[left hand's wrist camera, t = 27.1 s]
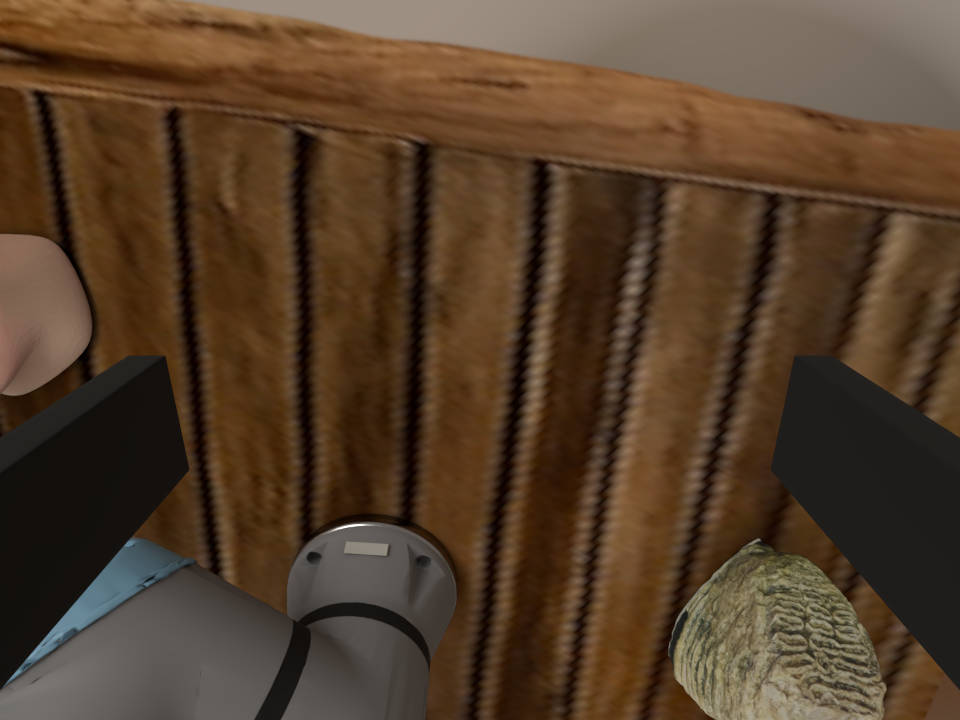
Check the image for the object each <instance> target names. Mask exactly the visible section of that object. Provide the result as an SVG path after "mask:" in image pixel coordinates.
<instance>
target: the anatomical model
mask: <svg viewBox="0 0 960 720" xmlns="http://www.w3.org/2000/svg"><path fill="white" fill-rule="evenodd" d="M91 335H92V317H91V312H90V307H89V304H88V300H87V297H86V294H85V292H84V289H83V287H82V284H81V282H80V280H79V278H78V275H77V273H76V271H75V269H74V267H73V266H72V264H71V262H70V260H69V259H68V257H67V255H66V254H65V253H64V252H63V250H62V249H61V248H60V247H59V246H58V245H57V244H55V243H54V242H53V241H51V240H49V239H46V238H43V237H39V236H32V235H17V234H0V394H1V393H2V394H5V395H12V396H16V395H23V394H26V393H28V392H31V391H33V390H35V389H37V388H39V387H40V386H42V385H44V384H45V383H47V382H48V381H50V380H51V379H53V378H54V377H56V376H57V375H58V374H60V373H61V372H62V371H63V370H65V369H66V368H67V367H68V366H70V365H71V364H72V363H73V362H74V361H75V360H76V359H77V358H78V357H79V356H80V355H81V354H82V353H83V351H84V350H85V349H86V347H87V345H88V344H89V341H90V339H91Z"/></svg>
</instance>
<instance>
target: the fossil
mask: <svg viewBox="0 0 960 720" xmlns="http://www.w3.org/2000/svg"><path fill="white" fill-rule="evenodd" d="M669 657H670V659H671V661H672V664H673V672H674V677H675V679H676V680H677V681H678V682H679V683H680V684H681V685H682V686H684V688H685V691H686V692H687V693H688V694H689V695H690V696H691V697H692V698H693V699H694V700H695V701H696V702H697V704H698V705H699V706H700V708H701V709H703V710H704V711H705V713H706V714H707V715H709V716H711V717H712V718H714V719H716V720H882V718H883V715H884V710H885V709H884V705H883V697H884V693H885V692H886V690H887V689H886V684H885V683H884V682H883V681H882V679H881V674H880V671H879V663H878V660H877V657H876V654H875V650H874V646H873V643H872V641H871V639H870V637H869V635H868V633H867V631H866V629H865V628H864V627H863V626H862V625H861V623H860V622H859V621H858V618H857V615H856V613H855V611H854V609H853V607H852V605H851V603H849V602H848V601H847V599H846V597H844V596H843V594H842V593H841V592H840V590H839V589H838V588H837V587H836V586H835V585H834V584H833V583H832V582H831V580H830V579H829V578H828V577H827V576H826V575H825V573H824V572H822V571H821V570H820V569H819V568H818V567H817V565H815V564H814V563H812V562H811V561H810V560H809V559H807V558H806V557H803V556H801V555H798V554H787V553H778V552H775V551H774V550H773V548H772V547H771V546H768V545H766V544H763V542H762V541H761V540H760V539H759V538H758V539H756V540H754V541H753V542H751V543H749V544H747V545H746V546H744V547H743V548H742V549H741V550H740V551H739V552H738V553H737V554H736V555H735V556H733V557H732V558H731V559H730V560H728V561H727V562H726V563H724V564H723V566H722V567H721V568H720V569H719V570H717V571H716V572H715V573H714V574H713V576H712V577H711V579H710V580H709V581H707V582H706V583H705V584H704V585H702V586H701V587H700V589H699V590H698V591H697V592H696V594H695V595H694V596H693V597H692V598H691V600H690V601H689V602H688V603H687V605H686V606H685V607H684V609H683V610H682V612H681V613H680V615H679V616H678V618H677V620H676V624H675V627H674V630H673V632H672V639H671V641H670V643H669Z"/></svg>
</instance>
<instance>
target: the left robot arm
mask: <svg viewBox="0 0 960 720" xmlns="http://www.w3.org/2000/svg"><path fill="white" fill-rule="evenodd" d="M188 471H189V466H188V461H187V456H186V452H185V447H184V442H183V438H182V433H181V428H180V423H179V419H178V414H177V409H176V404H175V400H174V395H173V390H172V385H171V381H170V376H169V371H168V367H167V362H166V357H165V356H127V357H126V358H124V359H123V360H121V361H120V362H118V363H116V364H115V365H113V366H112V367H110V368H109V369H107V370H105V371H104V372H102V373H101V374H99V375H98V376H96V377H95V378H93V379H91V380H90V381H88V382H87V383H85V384H84V385H82V386H80V387H79V388H77V389H76V390H74V391H73V392H71V393H69V394H68V395H66V396H65V397H63V398H62V399H60V400H59V401H57V402H55V403H54V404H52V405H51V406H49V407H48V408H46V409H44V410H43V411H41V412H40V413H38V414H37V415H35V416H33V417H32V418H30V419H29V420H27V421H26V422H24V423H23V424H21V425H19V426H18V427H16V428H15V429H13V430H12V431H10V432H8V433H7V434H5V435H4V436H2V437H1V438H0V720H425V718H426V706H427V695H428V683H429V670H430V662H431V659H432V657H433V655H434V653H435V651H436V649H437V647H438V645H439V643H440V641H441V639H442V637H443V635H444V633H445V631H446V629H447V627H448V625H449V623H450V621H451V618H452V615H453V613H454V610H455V605H456V597H457V576H456V571H455V567H454V564H453V562H452V559H451V558H450V556H449V554H448V552H447V551H446V550H445V548H444V547H443V546H442V545H441V543H440V542H439V541H438V540H437V539H436V538H435V537H433V536H432V535H431V534H430V533H428V532H427V531H425V530H424V529H422V528H421V527H419V526H417V525H415V524H413V523H411V522H408V521H406V520H403V519H400V518H396V517H392V516H387V515H379V514H360V515H353V516H347V517H344V518H340V519H337V520H334V521H332V522H330V523H328V524H326V525H324V526H322V527H321V528H319V529H318V530H316V531H315V532H314V533H313V534H312V535H310V536H309V537H308V538H307V540H306V541H305V542H304V543H303V545H302V546H301V548H300V549H299V551H298V553H297V555H296V558H295V560H294V562H293V565H292V567H291V570H290V573H289V577H288V585H287V615H285V614H283V613H282V612H280V611H278V610H276V609H274V608H273V607H271V606H269V605H267V604H266V603H264V602H262V601H260V600H258V599H257V598H255V597H253V596H251V595H249V594H248V593H246V592H244V591H242V590H241V589H239V588H237V587H236V586H234V585H232V584H230V583H229V582H227V581H225V580H224V579H222V578H220V577H218V576H217V575H215V574H213V573H212V572H210V571H208V570H207V569H205V568H203V567H201V566H200V565H198V564H197V561H196V560H195V559H193V558H184V557H182V556H180V555H178V554H176V553H174V552H171V551H169V550H167V549H165V548H163V547H161V546H159V545H157V544H156V543H154V542H152V541H149V540H146V539H142V538H131V537H132V536H133V535H134V534H135V532H136V531H137V530H138V529H139V528H140V527H141V525H142V524H143V523H144V522H145V521H146V520H147V518H148V517H149V516H150V515H151V514H152V513H153V512H154V510H155V509H156V508H157V507H158V506H159V505H160V503H161V502H162V501H163V500H164V499H165V498H166V496H167V495H168V494H169V493H170V492H171V491H172V489H173V488H174V487H175V486H176V485H177V484H178V482H179V481H180V480H181V479H182V478H183V477H184V475H185V474H186V473H187V472H188ZM771 471H772V472H773V473H774V474H775V475H776V477H777V478H778V479H779V480H780V481H781V482H782V484H783V485H784V486H785V487H786V488H787V489H788V491H789V492H790V493H791V494H792V495H793V496H794V498H795V499H796V500H797V501H798V502H799V503H800V505H801V506H802V507H803V508H804V509H805V510H806V512H807V513H808V514H809V515H810V516H811V517H812V518H813V520H814V521H815V522H816V523H817V524H818V525H819V527H820V528H821V529H822V530H823V531H824V532H825V534H826V535H827V536H828V537H829V538H830V539H831V541H832V542H833V543H834V544H835V545H836V546H837V548H838V549H839V550H840V551H841V552H842V553H843V555H844V556H845V557H846V558H847V559H848V560H849V562H850V563H851V564H852V565H853V566H854V567H855V569H856V570H857V571H858V572H859V573H860V574H861V576H862V577H863V578H864V579H865V580H866V581H867V583H868V584H869V585H870V586H871V587H872V588H873V590H874V591H875V592H876V593H877V594H878V595H879V597H880V598H881V599H882V600H883V601H884V602H885V604H886V605H887V606H888V607H889V608H890V609H891V611H892V612H893V613H894V614H895V615H896V616H897V618H898V619H899V620H900V621H901V622H902V623H903V625H904V626H905V627H906V628H907V629H908V630H909V632H910V633H911V634H912V635H913V636H914V637H915V638H916V640H917V641H918V642H919V643H920V644H921V645H922V647H923V648H924V649H925V650H926V651H927V652H928V654H929V655H930V656H931V657H932V658H933V659H934V661H935V662H936V663H937V664H938V665H939V666H940V668H941V669H942V670H943V671H944V672H945V673H946V675H947V676H948V677H949V678H950V679H951V680H952V682H953V683H954V684H955V685H956V686H957V687H958V689H959V690H960V438H959V437H958V436H956V435H955V434H953V433H952V432H950V431H948V430H947V429H945V428H944V427H942V426H941V425H939V424H937V423H936V422H934V421H933V420H931V419H930V418H928V417H927V416H925V415H923V414H922V413H920V412H919V411H917V410H916V409H914V408H912V407H911V406H909V405H908V404H906V403H905V402H903V401H901V400H900V399H898V398H897V397H895V396H894V395H892V394H891V393H889V392H887V391H886V390H884V389H883V388H881V387H880V386H878V385H876V384H875V383H873V382H872V381H870V380H869V379H867V378H865V377H864V376H862V375H861V374H859V373H858V372H856V371H855V370H853V369H851V368H850V367H848V366H847V365H845V364H844V363H842V362H840V361H839V360H837V359H836V358H834V357H833V356H795V357H794V362H793V366H792V371H791V376H790V381H789V385H788V390H787V395H786V400H785V404H784V409H783V414H782V419H781V423H780V428H779V433H778V438H777V442H776V447H775V452H774V456H773V461H772V466H771Z"/></svg>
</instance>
